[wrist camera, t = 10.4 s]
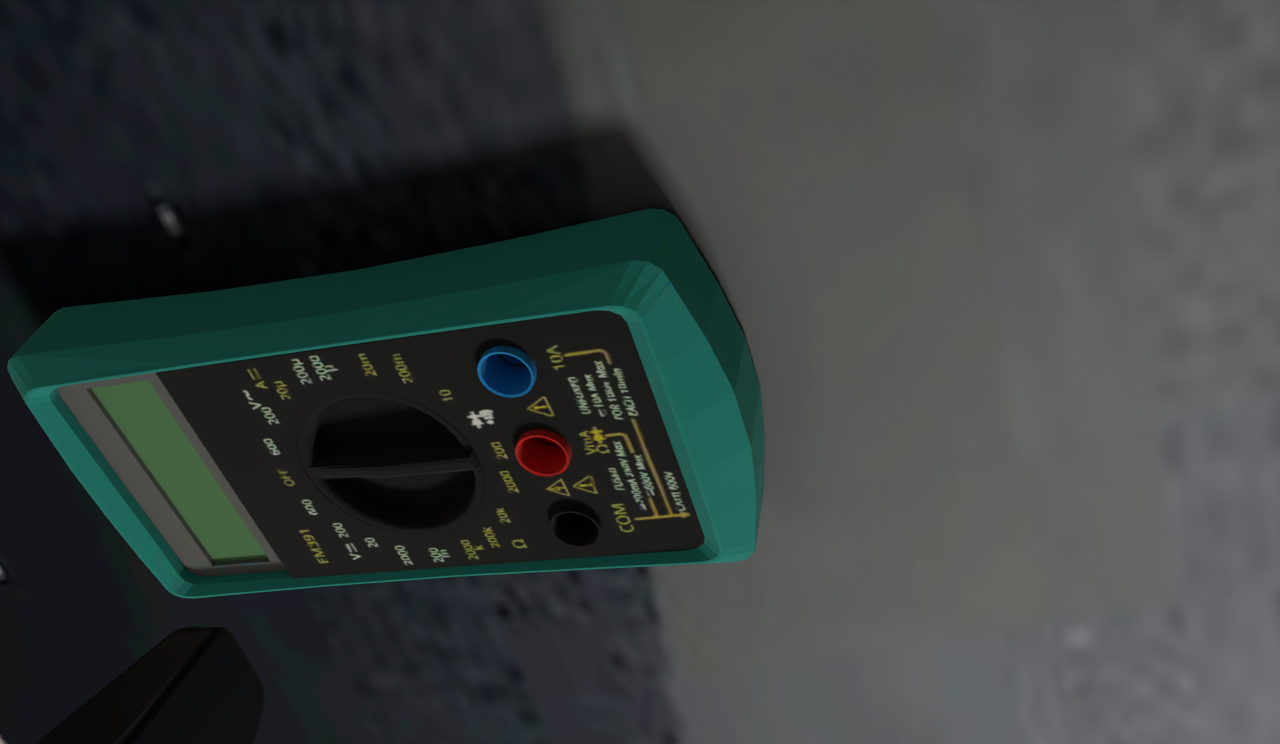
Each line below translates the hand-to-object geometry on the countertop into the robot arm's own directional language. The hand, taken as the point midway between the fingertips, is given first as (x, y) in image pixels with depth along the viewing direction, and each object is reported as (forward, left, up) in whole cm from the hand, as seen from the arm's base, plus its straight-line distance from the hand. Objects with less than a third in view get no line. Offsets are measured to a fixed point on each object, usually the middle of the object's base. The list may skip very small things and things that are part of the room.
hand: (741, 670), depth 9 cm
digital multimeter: (+10, +7, -13) cm, 17 cm away
